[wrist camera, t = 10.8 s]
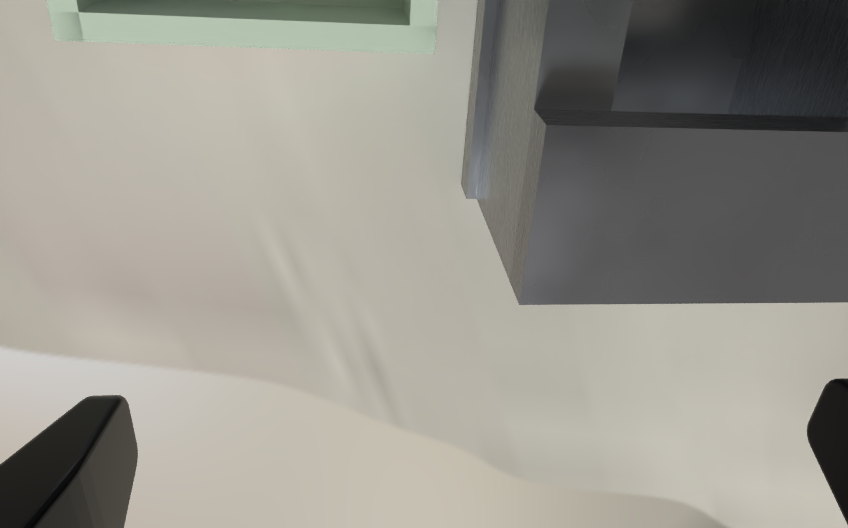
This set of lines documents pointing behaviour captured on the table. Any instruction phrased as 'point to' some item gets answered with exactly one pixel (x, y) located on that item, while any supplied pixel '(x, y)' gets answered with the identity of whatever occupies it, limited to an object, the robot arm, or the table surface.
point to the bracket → (662, 149)
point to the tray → (252, 23)
